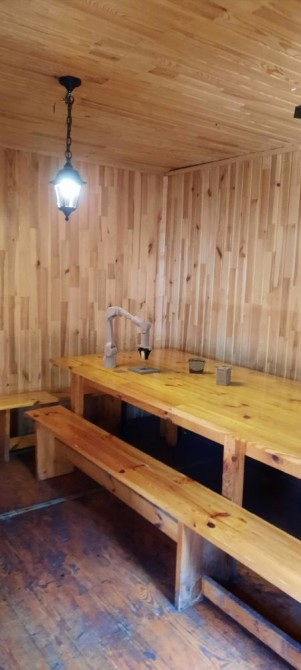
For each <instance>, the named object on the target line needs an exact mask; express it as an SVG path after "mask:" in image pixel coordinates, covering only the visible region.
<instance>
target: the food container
mask: <svg viewBox="0 0 301 670" xmlns="http://www.w3.org/2000/svg"><path fill="white" fill-rule="evenodd" d="M206 362H207V361H206V359H203V358H198V357H192V358H188V360H187V363H188V372H189V373H190V375H191V374H192V375H193V374H194V375H204V370H205V364H206ZM189 373H188V374H189Z"/></svg>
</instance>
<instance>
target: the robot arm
mask: <svg viewBox="0 0 301 670" xmlns="http://www.w3.org/2000/svg"><path fill="white" fill-rule="evenodd" d="M117 316H123V317H125V318H127V319H128V320H130V321H131V323H132V324H133V325H135V326H136V327H138V328H139V329H140V344H138V343H137V346H136V347H137V351H138V353H139V356H140V358H141V351H144V355H145V360H147V361H148V360H149V356H150V354H151V353H152V351H153V347H152V346H150V329H151V327H152V324H151V323H150V321H147V320H145V319H143V318H141V317H140V315H133V314H131V313H130V312H128V311H127V310H125V309H124V308H123V307H120V306H119V305H115V306H109V307H107V309H106V313H105V315H104V328H105V340H106V343H105V345H104V350H103V353H104V355H103V358H102V367H104V368H106V369H116V367H117V365H116V364H117V353H118V348H117V344H116V343H115V335H114V324H113V320H114V319H115V318H117Z"/></svg>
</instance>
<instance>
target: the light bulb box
mask: <svg viewBox="0 0 301 670" xmlns="http://www.w3.org/2000/svg"><path fill="white" fill-rule="evenodd" d="M232 367H233V366H229V365H221V366H219V367H216V378H215V379H216V380H215V385H216V386H224V387H227V385H229V384H231V382H232Z"/></svg>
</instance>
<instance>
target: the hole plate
mask: <svg viewBox="0 0 301 670" xmlns="http://www.w3.org/2000/svg"><path fill="white" fill-rule="evenodd" d="M127 372H133V373H136V374H138V375H141V376H143V375H149V374H150V375H151V374H161V369H157V368H155V367H152V366H151V367H150V366H149V365H143V366H135V367H133V366H132V367H127Z"/></svg>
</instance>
